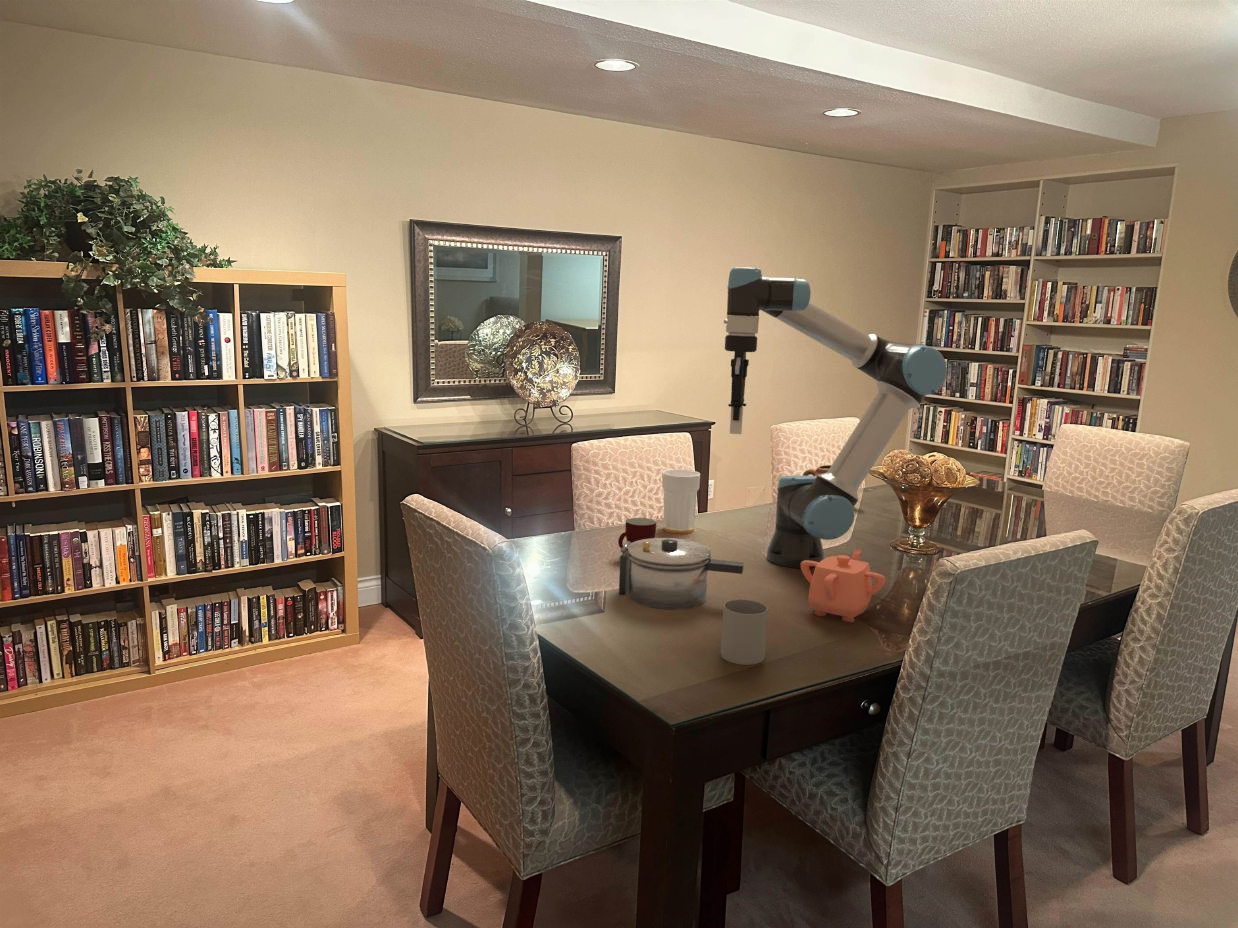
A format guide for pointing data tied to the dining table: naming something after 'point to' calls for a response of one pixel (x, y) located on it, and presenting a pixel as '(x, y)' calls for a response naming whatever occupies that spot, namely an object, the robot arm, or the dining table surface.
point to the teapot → (841, 585)
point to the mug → (638, 530)
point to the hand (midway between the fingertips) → (735, 433)
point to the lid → (667, 551)
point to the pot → (669, 581)
